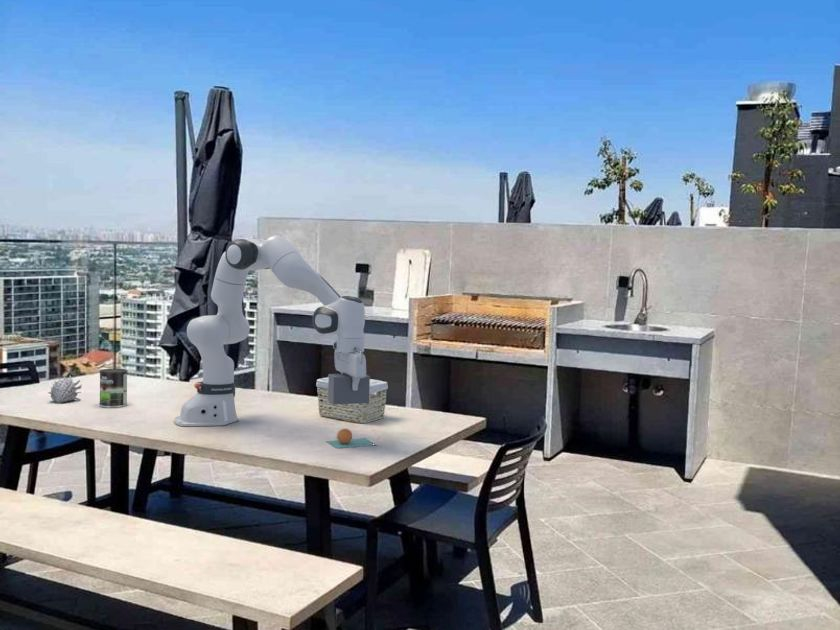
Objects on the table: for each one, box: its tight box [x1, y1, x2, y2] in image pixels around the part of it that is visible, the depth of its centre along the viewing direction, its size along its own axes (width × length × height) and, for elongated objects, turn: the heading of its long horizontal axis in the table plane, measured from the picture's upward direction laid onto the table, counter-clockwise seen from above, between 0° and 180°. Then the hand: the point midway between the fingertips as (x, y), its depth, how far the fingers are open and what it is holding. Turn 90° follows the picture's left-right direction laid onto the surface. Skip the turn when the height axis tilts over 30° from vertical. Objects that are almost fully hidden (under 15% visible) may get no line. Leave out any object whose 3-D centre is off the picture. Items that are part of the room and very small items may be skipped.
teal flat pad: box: [326, 437, 378, 449], centre depth 257 cm, size 14×10×1 cm
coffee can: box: [99, 368, 128, 409], centre depth 309 cm, size 10×10×14 cm
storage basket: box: [315, 376, 389, 424], centre depth 298 cm, size 24×16×15 cm
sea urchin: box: [47, 375, 83, 404], centre depth 314 cm, size 12×11×12 cm
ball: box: [336, 428, 353, 444], centre depth 256 cm, size 5×5×5 cm
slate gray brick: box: [327, 373, 371, 404], centre depth 255 cm, size 12×7×9 cm, turn 111°
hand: (349, 388), depth 255 cm, fingers closed on slate gray brick, 7 cm apart
